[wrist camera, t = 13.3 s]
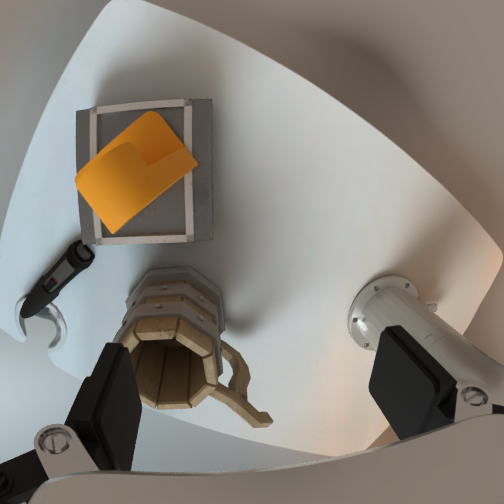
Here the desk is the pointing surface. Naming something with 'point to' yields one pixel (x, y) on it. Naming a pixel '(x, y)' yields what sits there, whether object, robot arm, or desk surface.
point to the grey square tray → (170, 201)
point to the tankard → (183, 344)
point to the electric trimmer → (57, 278)
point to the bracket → (133, 170)
